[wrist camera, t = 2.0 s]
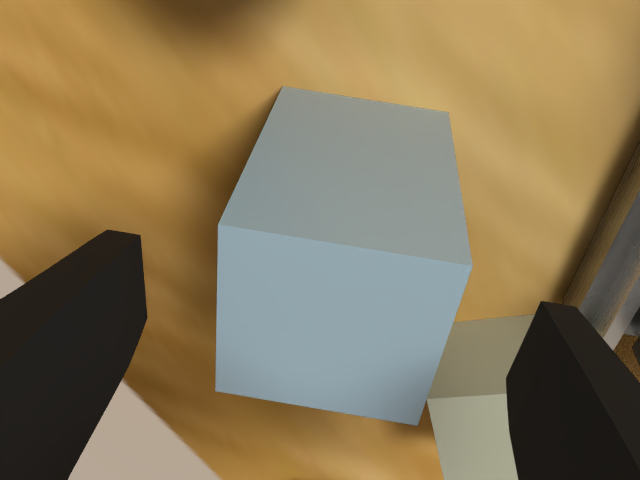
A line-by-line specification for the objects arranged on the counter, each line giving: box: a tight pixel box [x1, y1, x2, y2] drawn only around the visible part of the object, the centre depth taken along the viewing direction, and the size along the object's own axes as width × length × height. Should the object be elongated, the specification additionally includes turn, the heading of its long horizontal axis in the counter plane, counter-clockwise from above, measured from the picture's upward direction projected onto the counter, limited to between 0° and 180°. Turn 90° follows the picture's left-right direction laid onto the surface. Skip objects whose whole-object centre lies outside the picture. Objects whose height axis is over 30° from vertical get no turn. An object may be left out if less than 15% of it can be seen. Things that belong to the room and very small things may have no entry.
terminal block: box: [427, 314, 535, 480], centre depth 17 cm, size 4×4×3 cm
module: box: [215, 86, 473, 426], centre depth 13 cm, size 4×4×6 cm
